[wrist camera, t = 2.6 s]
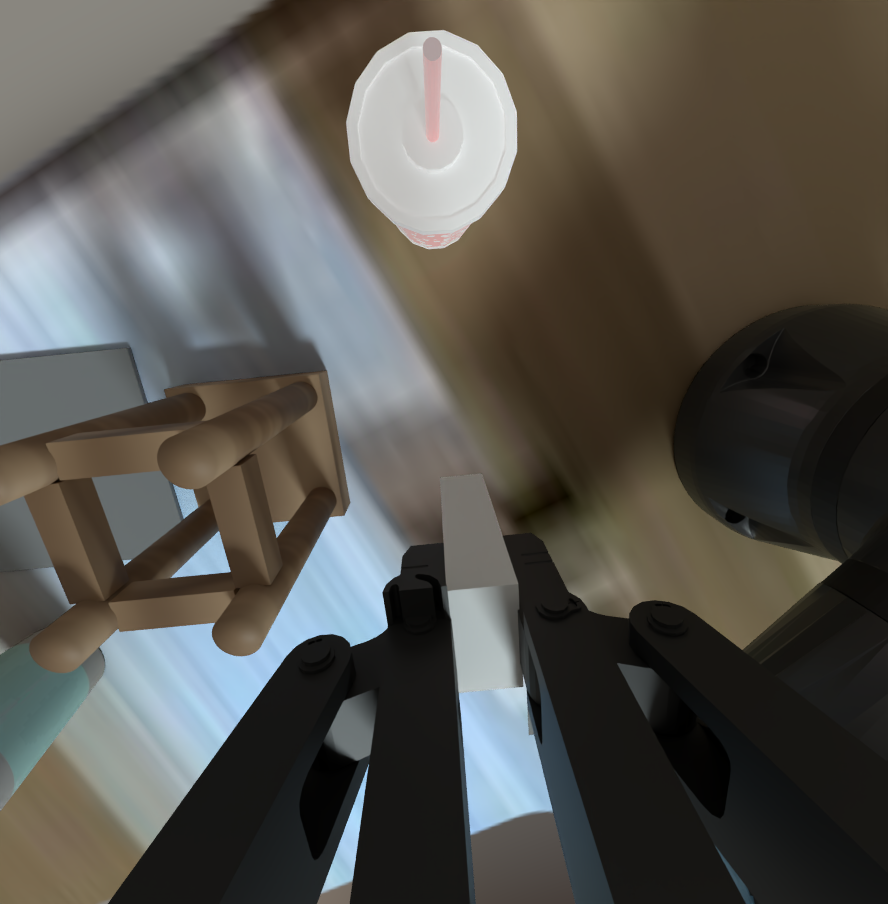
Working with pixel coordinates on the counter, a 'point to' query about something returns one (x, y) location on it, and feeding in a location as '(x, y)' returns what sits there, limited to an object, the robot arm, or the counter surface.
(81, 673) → the coffee cup
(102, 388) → the mat
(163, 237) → the counter surface
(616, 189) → the counter surface
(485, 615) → the robot arm
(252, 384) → the stool
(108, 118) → the counter surface
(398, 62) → the beverage cup
